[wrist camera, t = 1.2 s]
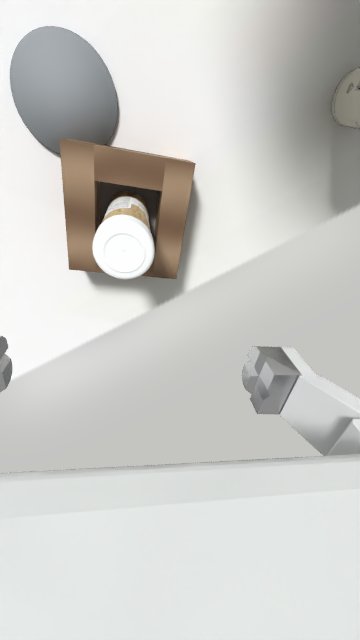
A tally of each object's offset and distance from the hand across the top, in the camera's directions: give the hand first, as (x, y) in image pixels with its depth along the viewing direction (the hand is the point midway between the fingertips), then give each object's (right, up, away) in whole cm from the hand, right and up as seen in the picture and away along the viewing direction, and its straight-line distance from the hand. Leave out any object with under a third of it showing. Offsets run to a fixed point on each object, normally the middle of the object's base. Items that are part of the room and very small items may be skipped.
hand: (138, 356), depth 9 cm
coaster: (-9, +21, +15) cm, 28 cm away
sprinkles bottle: (-4, +14, +21) cm, 26 cm away
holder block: (-4, +14, +21) cm, 26 cm away
